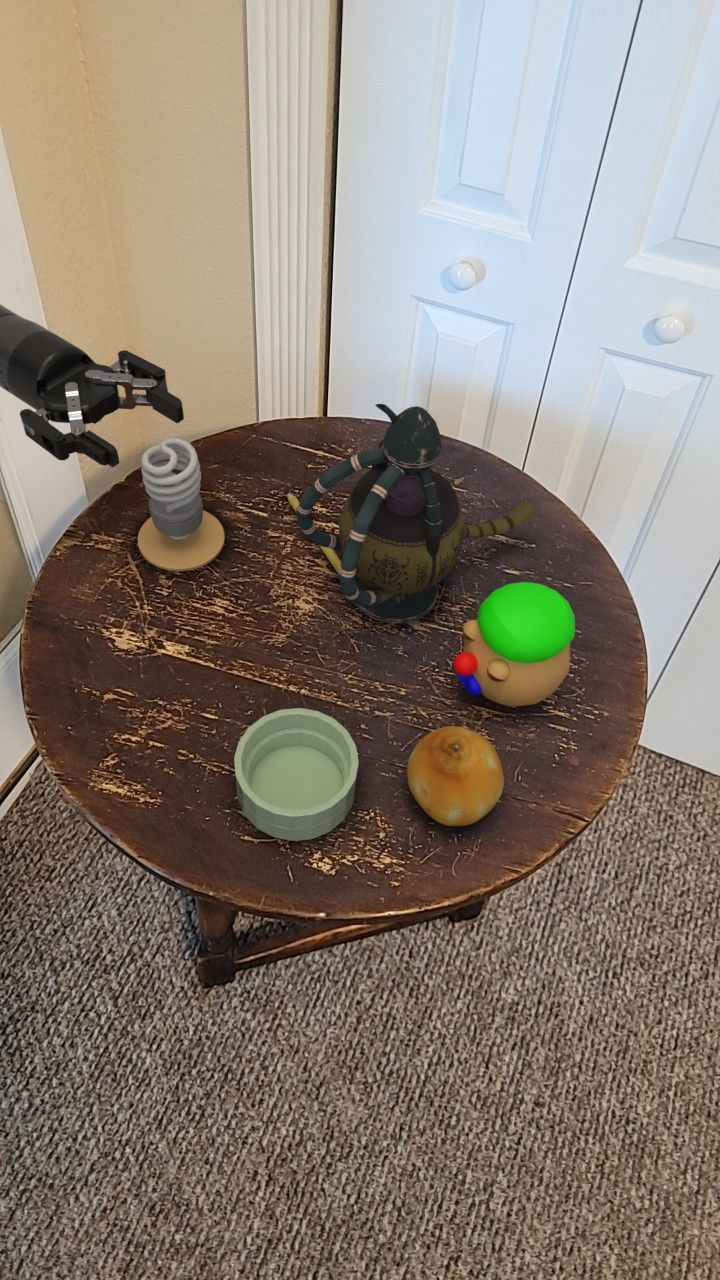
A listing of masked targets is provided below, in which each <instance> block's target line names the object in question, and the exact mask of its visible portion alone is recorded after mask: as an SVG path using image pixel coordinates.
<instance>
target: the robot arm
mask: <svg viewBox="0 0 720 1280" xmlns="http://www.w3.org/2000/svg"><path fill="white" fill-rule="evenodd" d="M117 357H118V360H116V361H115V362H113V363H112V364H111V365H110V366H109V365H107V364H100V363H96V362H95V361H94V360H93V358H91V357H90V356H89V354H88V353H86V352H85V351H84V350H83V349H81V348H79V347H78V346H76V345H75V344H73V343H71V342H69V341H67V340H66V339H65V338H62V337H61V336H60V335H58V334H56V333H54V332H53V331H51V330H49V329H47V328H46V327H44V326H43V325H41V324H39V323H37V322H35V321H32V320H30V319H27V318H24V317H23V316H21V315H20V314H17V313H16V312H15V311H12V310H11V309H10V308H7V307H6V306H4V305H3V304H1V303H0V388H2V389H3V390H5V391H6V392H8V393H9V394H10V395H12V396H14V397H16V398H17V399H18V400H20V401H22V402H23V403H24V404H26V405H28V406H30V407H31V408H32V409H34V410H36V411H33V410H32V409H30V408H24V409H21V410H20V412H19V416H20V419H21V424H22V426H23V430H24V433H25V436H26V437H28V438H29V439H30V440H32V441H33V442H35V443H36V444H37V445H38V446H39V447H41V448H42V449H43V450H45V451H46V452H48V453H49V454H50V455H51V456H53V457H54V458H56V459H57V460H59V461H67V460H68V459H69V458H70V455H71V454H75V453H76V454H79V455H85V456H86V457H88V458H90V459H91V460H92V461H94V462H96V463H97V464H99V465H100V466H105V467H106V466H107V465H108V466H109V467H111V468H114V467H116V466H118V465H119V464H120V457H119V453H118V450H117V448H116V446H115V445H113V444H112V443H110V442H108V441H107V440H106V439H104V438H102V437H101V436H99V435H98V434H97V433H94V432H93V431H91V430H89V429H88V430H87V426H86V425H89V424H94V425H95V424H98V423H99V422H100V421H102V420H103V418H105V416H108V415H110V414H113V413H115V412H116V411H118V410H119V409H120V410H134V409H136V407H138V406H139V407H151V408H152V410H154V411H155V412H157V413H159V414H161V415H162V416H164V417H165V418H166V419H169V420H170V421H172V422H174V423H176V424H179V423H181V422H182V421H183V420H184V419H185V415H184V407H183V402H182V400H181V399H180V398H179V397H177V396H176V395H174V394H172V393H170V392H169V390H168V389H169V388H168V384H167V373H166V370H165V369H164V368H163V367H160V366H158V365H157V364H154V363H152V362H150V361H148V360H146V359H144V358H143V357H141V356H139V355H137V354H134V353H133V352H131V351H129V350H126V349H125V350H120V351H118V353H117ZM118 386H120V387H122V388H123V389H124V392H125V393H124V394H125V396H120V392H119V387H118ZM137 391H145V394H141V393H140V394H138V393H137ZM49 421H50V422H52V423H61V424H69V427H70V432H67V433H63V432H62V431H60V430H59V429H58V428H56V427H55V426H54V425H52V424H51V423H50V422H49Z"/></svg>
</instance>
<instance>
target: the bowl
mask: <svg viewBox="0 0 720 1280" xmlns="http://www.w3.org/2000/svg"><path fill="white" fill-rule="evenodd" d="M359 761H360V760H359V755H358V750H357V745H356V742H355V741H354V740H353V738H352V736H351V734H350V732H349V731H348V730H347V728H345V727H344V726H343V725H342V724H341V723H340V722H339V721H338V720H336V719H335V718H334V717H332V716H330V715H327V714H326V713H323V712H321V711H318V710H314V709H309V708H302V707H296V708H285V709H284V708H283V709H278V710H276V711H274V712H271V713H269V714H265V715H263V716H262V717H260V718H259V719H257V720H256V721H255V722H254V723H252V724H251V725H250V726H249V727H248V728H247V729H246V731H245V732H244V733H243V735H242V736H241V738H240V739H239V741H238V743H237V747H236V750H235V753H234V757H233V762H234V763H233V765H234V775H235V786H236V797H237V802H238V804H239V806H240V808H241V810H242V813H243V815H244V817H245V818H246V819H247V820H248V821H249V822H250V823H251V824H252V826H254V827H255V828H256V829H257V830H259V831H261V832H263V833H265V834H266V835H269V836H271V837H273V838H275V839H280V840H286V841H290V842H296V841H298V842H299V841H307V840H312V839H313V840H314V839H316V838H318V837H321V836H323V835H325V834H328V833H329V832H332V831H333V830H334V829H335V828H336V827H337V826H339V825H340V824H341V823H342V822H343V821H344V820H345V819H346V817H347V815H348V814H349V812H350V811H351V809H352V807H353V805H354V802H355V796H356V793H357V792H356V791H357V784H358V774H359V767H360V766H359V765H360V762H359Z"/></svg>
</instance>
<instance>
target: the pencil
mask: <svg viewBox="0 0 720 1280" xmlns="http://www.w3.org/2000/svg"><path fill="white" fill-rule="evenodd" d="M285 493H286V497H287V501H288V504H289V505H290V506H291V508H292V509H293V510H294V512H295V513H296V510H297V507H298V504H299V502H300V500H299V499H298V498H297V497H296V496H295V495H293V494H292V493H290V492H289V491H288V490H285ZM315 526H316V527H317V525H316V524H315ZM317 529H319V528H318V527H317ZM319 548H320V549H321V551H322V553H323V554H324V555H325V557H326V558H327V560H328V562H330V564H331V566H332V567H333V568H334V570H335V571H336V573H337V574H338V576H339V577H340V569H341V561H342V560H341V559H340V558H339V556H338V555H337V553H336V552H335V550H333V549H330V548H326V547H323V546H319Z"/></svg>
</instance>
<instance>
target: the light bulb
mask: <svg viewBox="0 0 720 1280" xmlns="http://www.w3.org/2000/svg"><path fill="white" fill-rule="evenodd" d="M140 462H141V465H142V466H141V475H142V482H143V485H144V487H145V492H146V494H148V496H149V500H148V511H149V515H150V517H152V520H153V524H154V526H155V527H156V528H157V530H158V531H160V532H161V533H163V534H165V535H168V536H170V537H172V538H174V539H177V540H179V539H185V538H186V537H188V536H189V535H190V534H191V533H193V532H194V531H196V530H197V529H198V528H199V526H200V524H201V523H202V518H203V510H204V504H203V499H202V495H201V493H200V490H201V480H202V472H201V465H200V462H199V457H198V453H197V451H196V449H195V448H194V446H193V445H192V444H191V443H190V442H188V441H187V440H185V439H182V438H176V437H175V438H166V439H163V440H162V441H161V442H160V443H159V444H157V445H153V446H151V447H149V448H147V449H146V450H145V451H144V452H143V453H142V455H141V458H140ZM173 470H176V471H180V472H179V473H177V474H176V472H173Z"/></svg>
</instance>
